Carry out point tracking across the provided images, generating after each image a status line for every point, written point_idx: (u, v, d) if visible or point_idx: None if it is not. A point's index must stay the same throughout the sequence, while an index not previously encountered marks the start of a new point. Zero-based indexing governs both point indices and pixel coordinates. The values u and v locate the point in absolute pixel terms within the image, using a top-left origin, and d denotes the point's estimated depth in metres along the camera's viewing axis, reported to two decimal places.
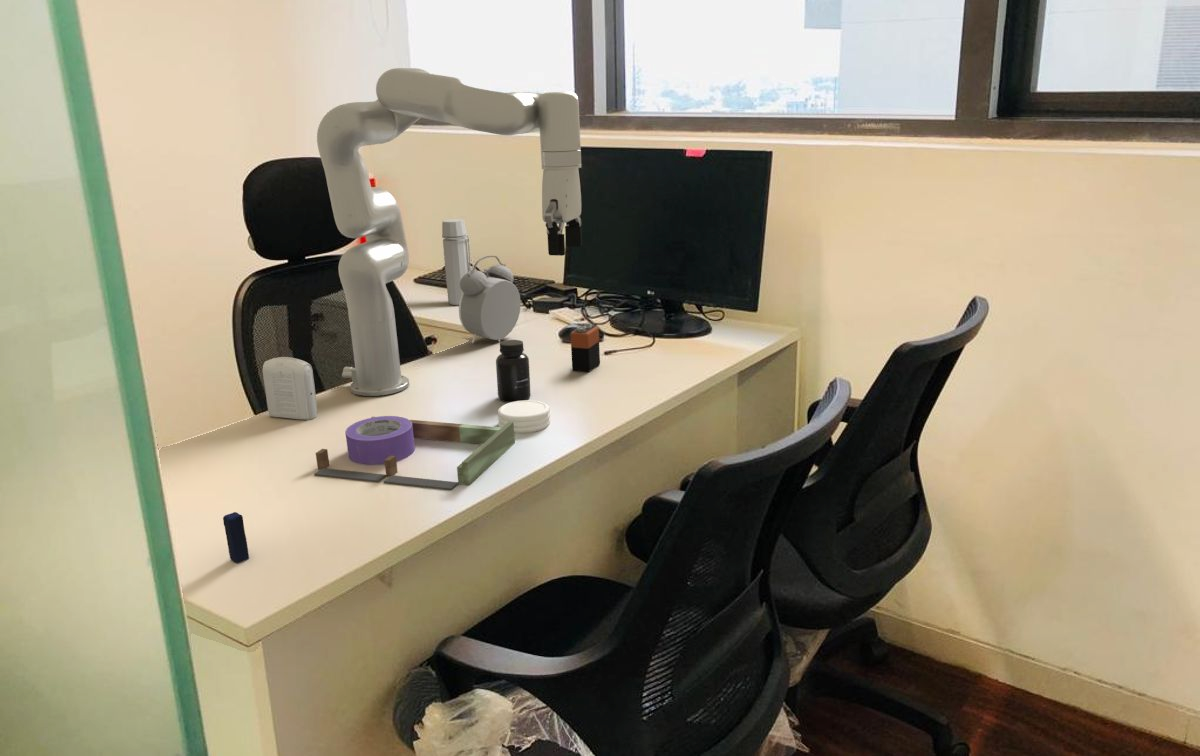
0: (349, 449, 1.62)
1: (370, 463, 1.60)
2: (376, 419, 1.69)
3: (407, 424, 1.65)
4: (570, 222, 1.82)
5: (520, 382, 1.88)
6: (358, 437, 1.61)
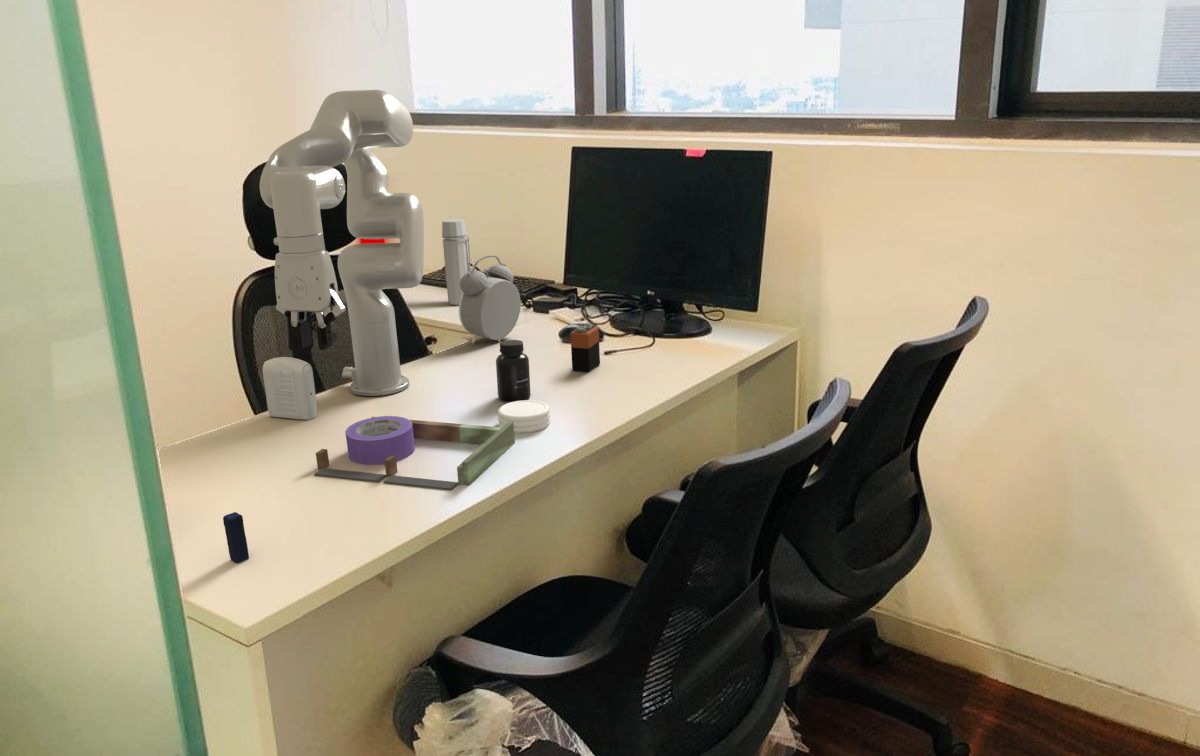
0: (349, 449, 1.62)
1: (370, 463, 1.60)
2: (376, 419, 1.69)
3: (407, 425, 1.65)
4: (299, 319, 1.62)
5: (520, 382, 1.88)
6: (358, 437, 1.61)
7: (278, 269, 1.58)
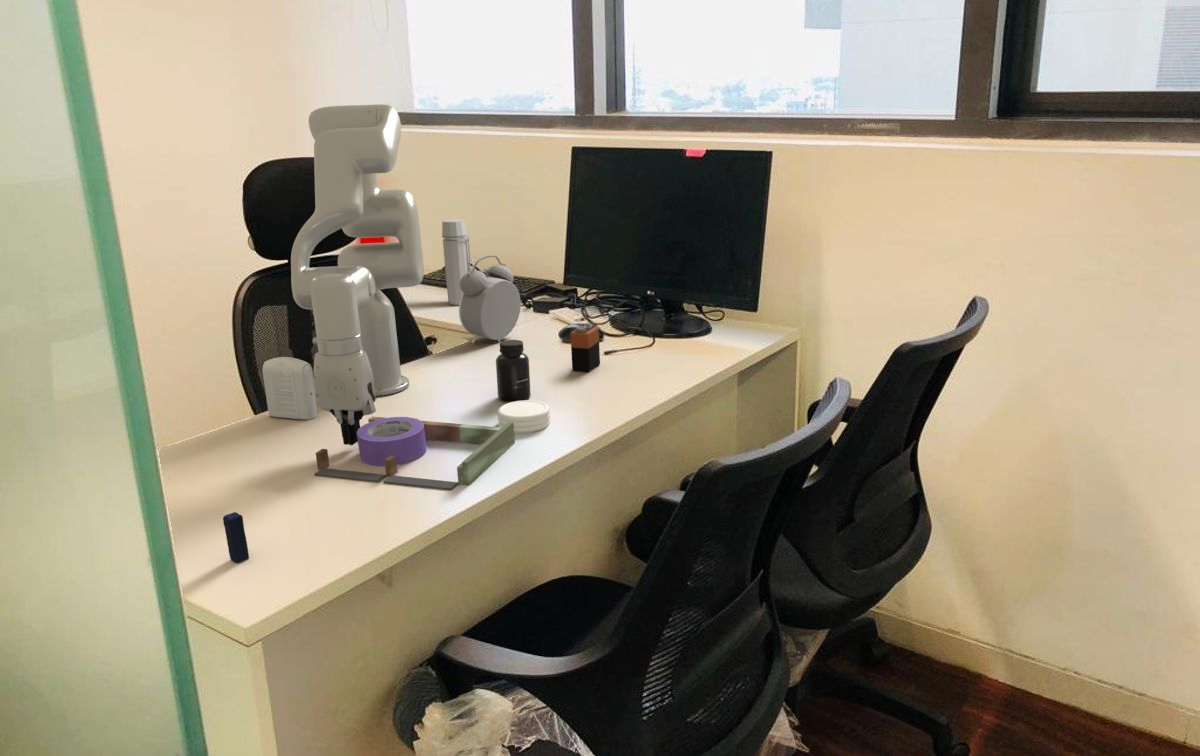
0: (361, 450, 1.61)
1: (382, 464, 1.60)
2: (387, 420, 1.68)
3: (419, 425, 1.65)
4: (343, 415, 1.65)
5: (520, 382, 1.88)
6: (370, 438, 1.60)
7: (317, 369, 1.62)
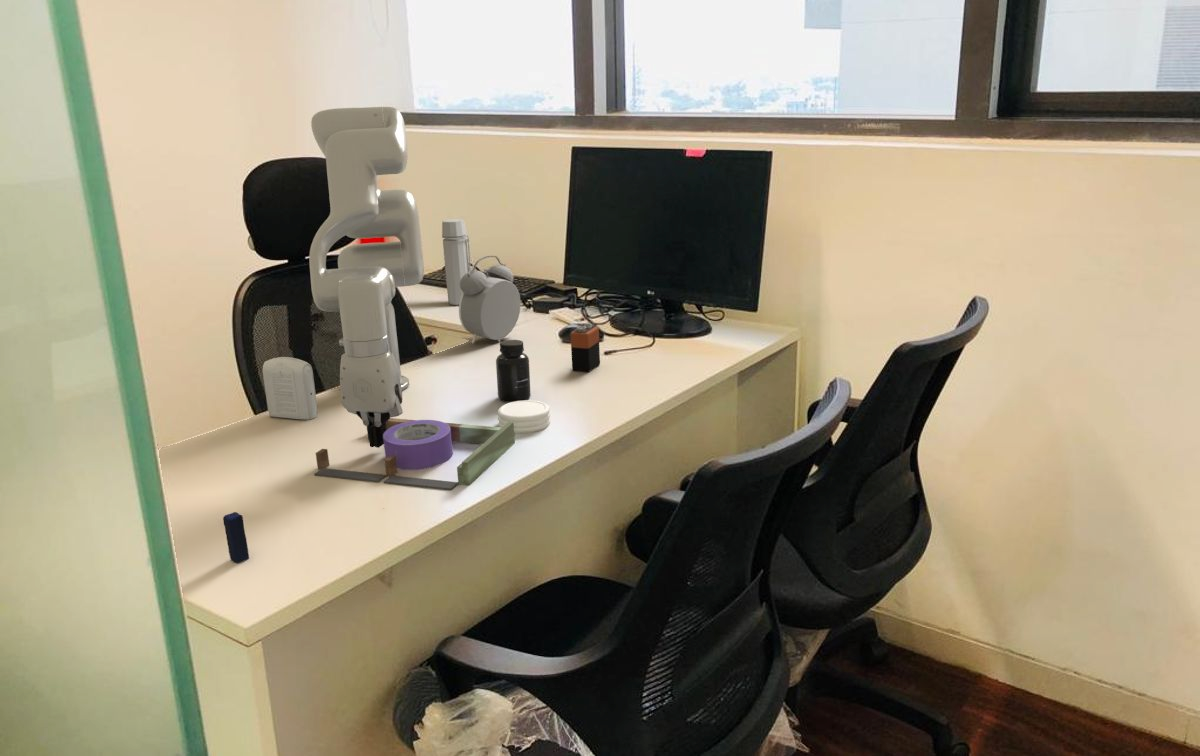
0: (387, 453, 1.60)
1: (409, 468, 1.58)
2: (413, 423, 1.66)
3: (446, 429, 1.63)
4: (369, 418, 1.64)
5: (520, 382, 1.88)
6: (396, 441, 1.58)
7: (343, 371, 1.60)
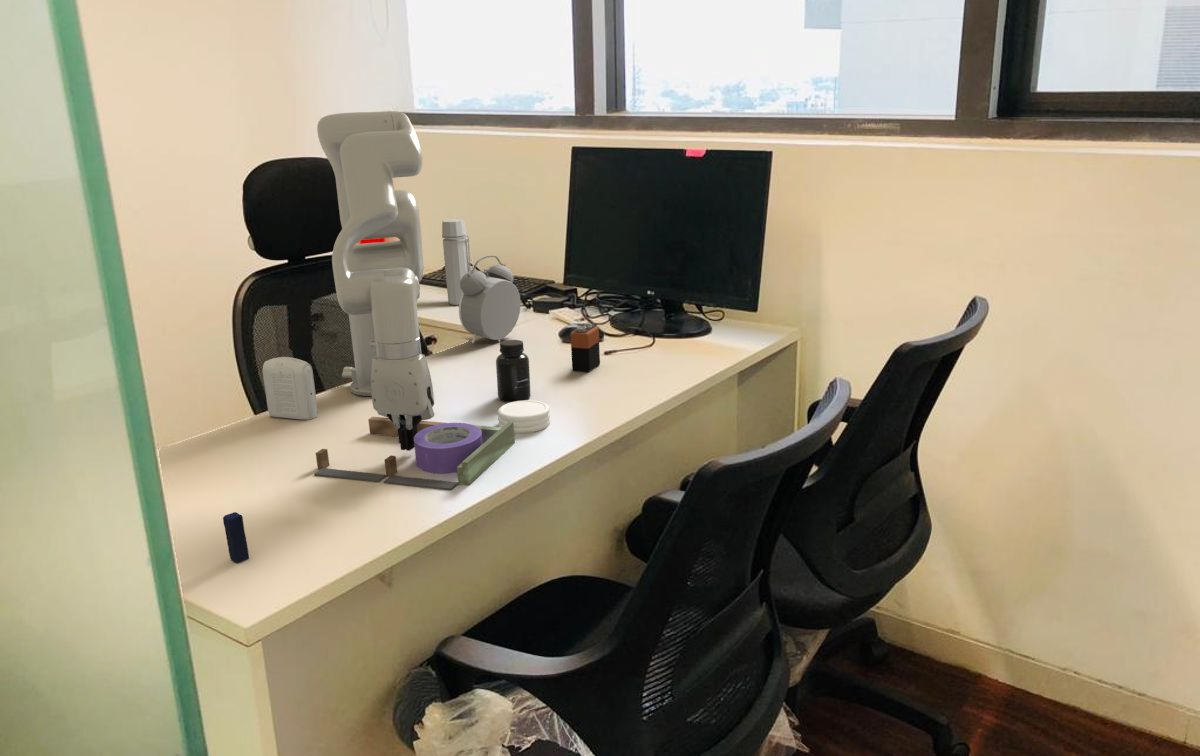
0: (417, 457, 1.58)
1: (439, 472, 1.56)
2: (445, 426, 1.64)
3: (477, 432, 1.60)
4: (401, 420, 1.62)
5: (520, 382, 1.88)
6: (427, 444, 1.56)
7: (375, 373, 1.58)
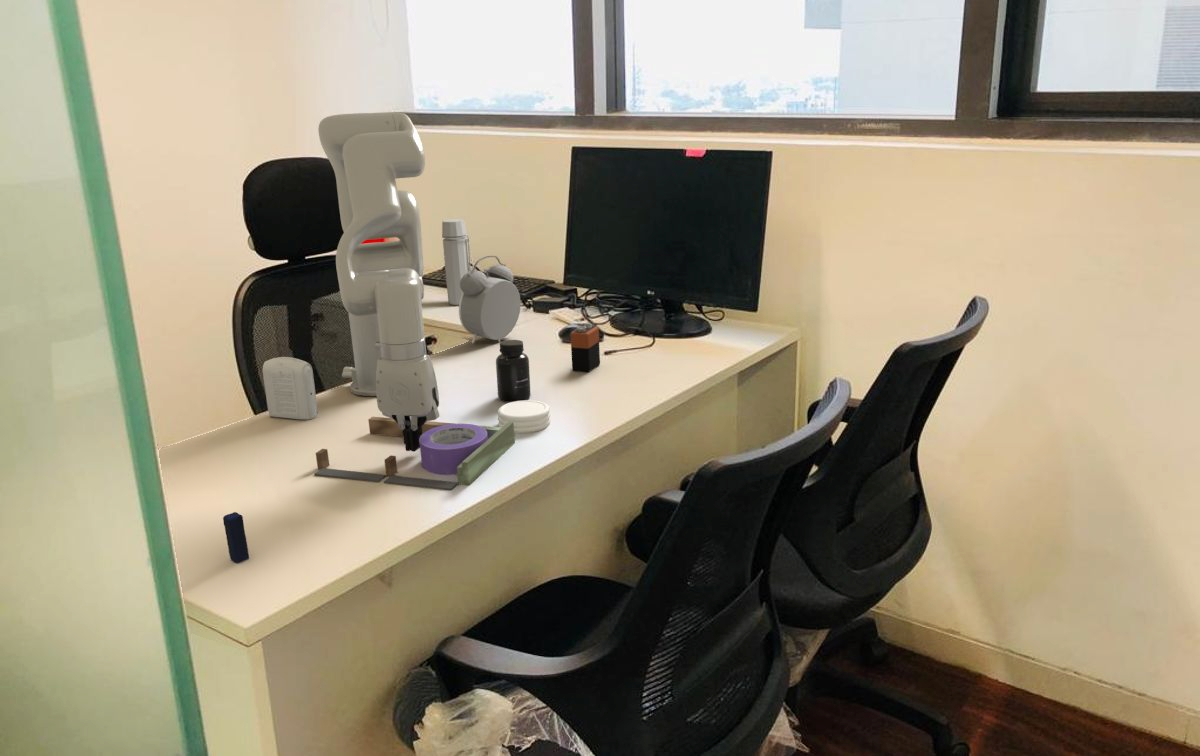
0: (423, 457, 1.57)
1: (444, 473, 1.55)
2: (450, 427, 1.63)
3: (482, 433, 1.60)
4: (405, 421, 1.62)
5: (520, 382, 1.88)
6: (432, 445, 1.56)
7: (380, 374, 1.58)
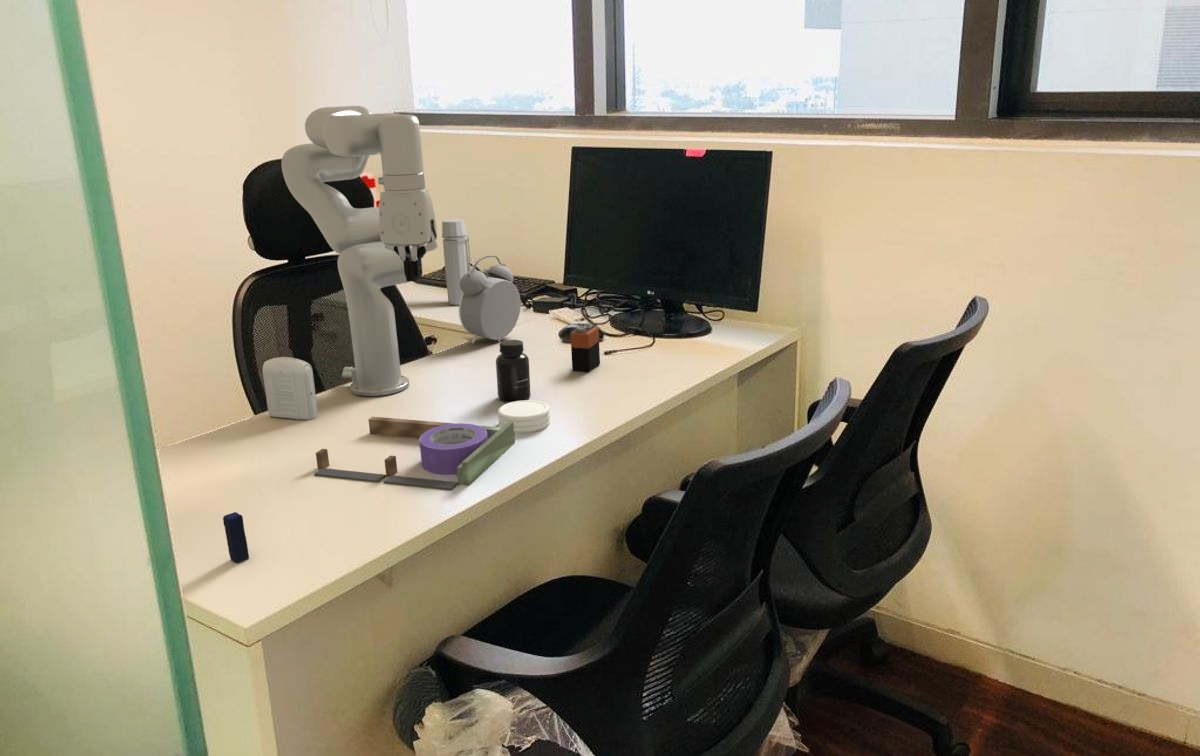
0: (423, 457, 1.57)
1: (444, 473, 1.55)
2: (450, 426, 1.63)
3: (482, 433, 1.60)
4: (406, 253, 1.76)
5: (520, 382, 1.88)
6: (432, 445, 1.56)
7: (383, 206, 1.72)
